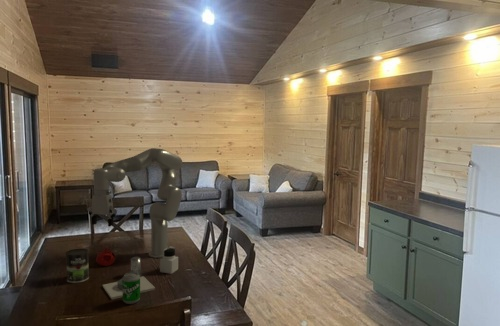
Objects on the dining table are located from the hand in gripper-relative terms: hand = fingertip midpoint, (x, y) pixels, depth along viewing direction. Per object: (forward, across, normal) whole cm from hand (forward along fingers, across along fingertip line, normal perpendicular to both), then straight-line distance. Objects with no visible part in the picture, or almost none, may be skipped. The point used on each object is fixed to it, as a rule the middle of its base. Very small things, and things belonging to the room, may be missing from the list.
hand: (102, 225), depth 203 cm
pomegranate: (+25, +5, -10) cm, 28 cm away
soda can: (+25, -32, +26) cm, 49 cm away
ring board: (+25, -24, +14) cm, 37 cm away
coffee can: (+25, +6, +12) cm, 29 cm away
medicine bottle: (+25, -32, -12) cm, 43 cm away
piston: (+25, -19, -1) cm, 31 cm away
